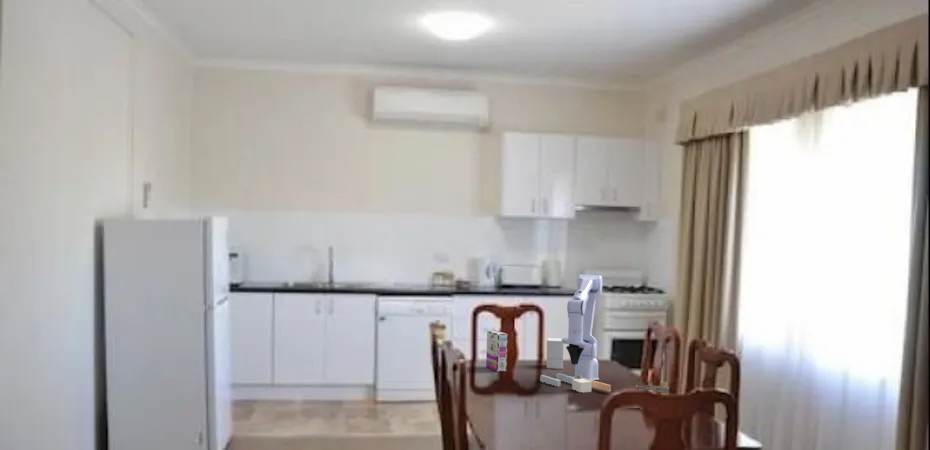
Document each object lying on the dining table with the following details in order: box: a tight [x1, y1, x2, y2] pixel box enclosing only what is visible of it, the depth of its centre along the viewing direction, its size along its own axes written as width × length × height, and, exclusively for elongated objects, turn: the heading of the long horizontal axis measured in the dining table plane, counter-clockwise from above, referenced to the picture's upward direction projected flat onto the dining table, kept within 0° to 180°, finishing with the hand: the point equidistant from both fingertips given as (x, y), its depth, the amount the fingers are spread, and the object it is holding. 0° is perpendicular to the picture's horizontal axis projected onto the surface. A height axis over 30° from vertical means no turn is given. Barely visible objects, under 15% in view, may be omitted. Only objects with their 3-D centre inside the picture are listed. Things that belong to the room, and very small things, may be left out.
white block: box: [571, 379, 593, 394], centre depth 292 cm, size 5×6×4 cm
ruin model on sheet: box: [635, 381, 670, 394], centre depth 270 cm, size 11×3×10 cm, turn 81°
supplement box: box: [545, 337, 564, 370], centre depth 336 cm, size 7×7×13 cm
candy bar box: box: [485, 330, 509, 373], centre depth 327 cm, size 11×5×16 cm, turn 25°
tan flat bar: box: [578, 375, 612, 392], centre depth 295 cm, size 17×1×4 cm, turn 37°
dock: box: [539, 372, 577, 388], centre depth 304 cm, size 10×11×2 cm
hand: (574, 364), depth 296 cm, fingers closed
